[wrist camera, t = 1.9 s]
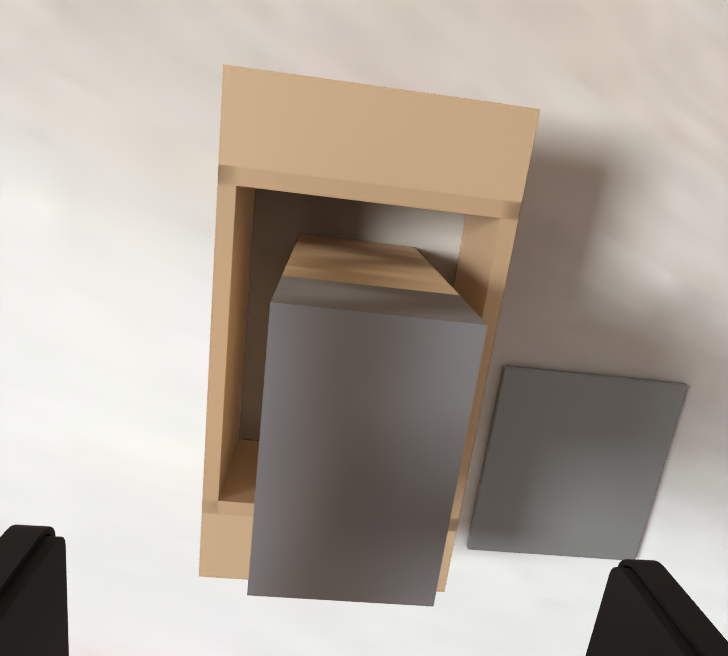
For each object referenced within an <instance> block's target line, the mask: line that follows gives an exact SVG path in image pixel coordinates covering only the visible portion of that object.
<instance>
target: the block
mask: <svg viewBox="0 0 728 656" xmlns="http://www.w3.org/2000/svg"><path fill="white" fill-rule="evenodd" d="M487 327H488V325H487V324H486V323H485V322H484V321H483V319H482V318H481V317H480V316H479V315H478V314H477V313H476V312H475V311H474V310H473V309H472V308H471V307H470V306H469V305H468V304H467V302H466V301H465V300H464V299H463V298H462V297H461V296H460V295H459V294H458V293H457V292H456V291H455V290H454V289H453V288H452V287H451V285H450V284H449V283H448V282H447V281H446V280H445V279H444V278H443V277H442V276H441V275H440V274H439V273H438V272H437V271H436V269H435V268H434V267H433V266H432V265H431V264H430V263H429V262H428V261H427V260H426V259H425V258H424V257H423V256H422V255H421V254H420V252H419V251H418V250H417V249H416V248H415V247H408V246H399V245H391V244H382V243H373V242H365V241H356V240H348V239H339V238H331V237H322V236H313V235H305V234H300V235H299V237H298V240H297V242H296V244H295V247H294V249H293V251H292V253H291V256H290V258H289V260H288V263H287V265H286V267H285V269H284V272H283V274H282V276H281V279H280V281H279V283H278V285H277V288H276V290H275V292H274V295H273V297H272V299H271V301H270V311H269V323H268V336H267V349H266V362H265V375H264V387H263V400H262V413H261V426H260V439H259V451H258V464H257V477H256V490H255V503H254V515H253V528H252V541H251V554H250V566H249V579H248V592H247V595H252V596H268V597H285V598H302V599H318V600H335V601H352V602H368V603H385V604H402V605H419V606H433V605H434V600H435V595H436V590H437V585H438V580H439V574H440V569H441V564H442V559H443V554H444V549H445V543H446V538H447V533H448V528H449V523H450V518H451V512H452V507H453V502H454V497H455V492H456V487H457V481H458V476H459V471H460V466H461V461H462V456H463V450H464V445H465V440H466V435H467V430H468V425H469V420H470V414H471V409H472V404H473V399H474V394H475V389H476V383H477V378H478V373H479V368H480V363H481V358H482V352H483V347H484V342H485V337H486V332H487Z"/></svg>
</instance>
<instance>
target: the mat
mask: <svg viewBox="0 0 728 656" xmlns="http://www.w3.org/2000/svg"><path fill="white" fill-rule="evenodd" d="M687 389H688V385H686V384H684V383H674V382H664V381H654V380H644V379H634V378H624V377H614V376H604V375H593V374H583V373H573V372H563V371H553V370H543V369H533V368H523V367H513V366H504V367H503V372H502V377H501V382H500V387H499V392H498V396H497V401H496V406H495V411H494V416H493V421H492V426H491V430H490V435H489V440H488V445H487V450H486V455H485V459H484V464H483V469H482V474H481V479H480V484H479V488H478V493H477V498H476V503H475V508H474V513H473V517H472V522H471V527H470V532H469V537H468V542H467V548H468V549H471V550H486V551H500V552H514V553H529V554H543V555H557V556H572V557H586V558H600V559H615V560H624V559H635V557H636V554H637V551H638V547H639V544H640V541H641V538H642V534H643V531H644V528H645V525H646V521H647V518H648V515H649V512H650V509H651V505H652V502H653V499H654V496H655V492H656V489H657V486H658V483H659V479H660V476H661V473H662V470H663V467H664V463H665V460H666V457H667V454H668V450H669V447H670V444H671V441H672V437H673V434H674V431H675V428H676V424H677V421H678V418H679V415H680V412H681V408H682V405H683V402H684V399H685V395H686V392H687Z"/></svg>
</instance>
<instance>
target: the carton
mask: <svg viewBox="0 0 728 656" xmlns="http://www.w3.org/2000/svg"><path fill="white" fill-rule="evenodd" d="M539 113H540V109H535V108H528V107H521V106H514V105H507V104H500V103H493V102H486V101H479V100H472V99H465V98H458V97H451V96H443V95H436V94H429V93H422V92H415V91H408V90H401V89H394V88H387V87H380V86H373V85H366V84H358V83H351V82H344V81H337V80H330V79H323V78H316V77H309V76H302V75H295V74H288V73H281V72H273V71H266V70H259V69H252V68H245V67H238V66H231V65H224V64H223V83H222V104H221V125H220V145H219V166H218V187H217V208H216V229H215V250H214V271H213V292H212V312H211V333H210V354H209V375H208V396H207V417H206V438H205V459H204V479H203V500H202V521H201V542H200V563H199V576H200V577H216V578H232V579H249V566H250V554H251V541H252V528H253V515H254V503H255V490H256V477H257V464H258V451H259V441H251V440H239V430H240V415H241V400H242V384H243V369H244V354H245V339H246V324H247V309H248V294H249V279H250V264H251V249H252V234H253V219H254V204H255V189H256V188H260V189H268V190H276V191H284V192H292V193H300V194H308V195H317V196H325V197H333V198H341V199H349V200H357V201H365V202H374V203H382V204H390V205H398V206H406V207H414V208H422V209H431V210H439V211H447V212H455V213H463V214H466V218H465V224H464V230H463V236H462V242H461V247H460V253H459V259H458V265H457V271H456V276H455V282H454V288H453V289H454V290H455V291H456V292H457V293H458V294H459V295H460V296H461V297H462V298H463V299H464V300H465V301H466V302H467V304H468V305H469V306H470V307H471V308H472V309H473V310H474V311H475V312H476V313H477V314H478V315H479V316H480V317H481V318H482V319H483V321H484V322H485V323H486V324H487V325H488V327H487V332H486V337H485V342H484V347H483V352H482V358H481V363H480V368H479V373H478V378H477V383H476V389H475V394H474V399H473V404H472V409H471V414H470V420H469V425H468V430H467V435H466V440H465V445H464V450H463V456H462V461H461V466H460V471H459V476H458V481H457V487H456V492H455V497H454V502H453V507H452V512H451V518H450V523H449V528H448V533H447V538H446V543H445V549H444V554H443V559H442V564H441V569H440V574H439V580H438V585H437V590H436V591H439V592H444V591H445V586H446V581H447V576H448V571H449V566H450V561H451V556H452V551H453V545H454V540H455V535H456V530H457V525H458V520H459V515H460V510H461V505H462V500H463V495H464V490H465V485H466V480H467V475H468V470H469V465H470V460H471V455H472V450H473V445H474V440H475V435H476V430H477V425H478V420H479V415H480V410H481V405H482V400H483V395H484V390H485V384H486V379H487V374H488V369H489V364H490V359H491V354H492V349H493V344H494V339H495V334H496V329H497V324H498V319H499V314H500V309H501V304H502V299H503V294H504V289H505V284H506V279H507V274H508V269H509V264H510V259H511V254H512V249H513V244H514V239H515V234H516V229H517V223H518V218H519V213H520V208H521V203H522V198H523V193H524V188H525V183H526V178H527V173H528V168H529V163H530V158H531V153H532V148H533V143H534V138H535V133H536V128H537V123H538V118H539Z"/></svg>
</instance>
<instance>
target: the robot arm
mask: <svg viewBox="0 0 728 656" xmlns="http://www.w3.org/2000/svg"><path fill="white" fill-rule="evenodd" d="M0 656H69V646H68V611H67V577H66V545H65V540H64V538H63V537H56V536H55V531H54V529H53V528H52V527H49V526H31V525H13V526H11V527H9V528H8V529H7V530H6V531H5V532H4V534H3V535H2V536H1V537H0ZM586 656H728V641H727V640H726V639H725V638H724V637H723V636H722V634H721V633H720V632H719V631H718V630H717V628H716V627H715V626H714V625H713V624H712V623H711V621H710V620H709V619H708V618H707V617H706V615H705V614H704V613H703V612H702V611H701V610H700V608H699V607H698V606H697V605H696V604H695V603H694V601H693V600H692V599H691V598H690V597H689V595H688V594H687V593H686V592H685V591H684V590H683V588H682V587H681V586H680V585H679V584H678V582H677V581H676V580H675V579H674V578H673V577H672V575H671V574H670V573H669V572H668V571H667V570H666V568H665V567H664V566H663V565H662V564H661V563H659V562H657V561H654V560H636V559H624V560H622V561H621V562H620V563H619V565H618V567H614V568H613V569H612V570H611V572H610V574H609V577H608V581H607V584H606V588H605V591H604V594H603V598H602V601H601V605H600V608H599V612H598V615H597V618H596V622H595V625H594V629H593V632H592V636H591V639H590V642H589V646H588V649H587V653H586Z"/></svg>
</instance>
